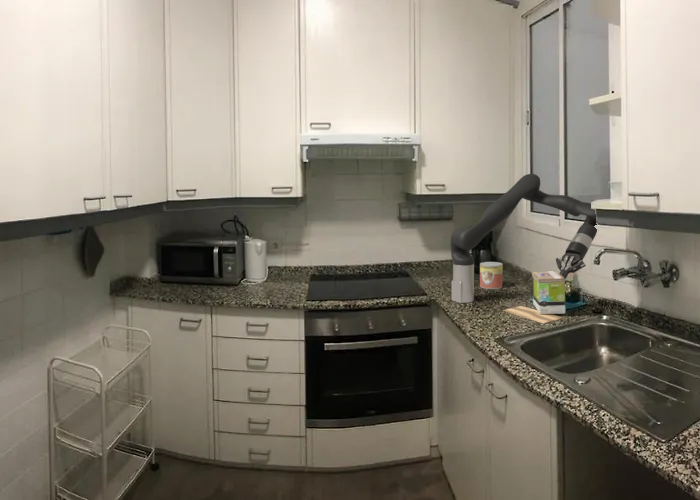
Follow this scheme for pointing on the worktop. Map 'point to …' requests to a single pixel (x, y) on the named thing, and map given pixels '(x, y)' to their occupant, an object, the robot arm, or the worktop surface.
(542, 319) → the wooden cutting board
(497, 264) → the canned food
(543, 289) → the tea box
